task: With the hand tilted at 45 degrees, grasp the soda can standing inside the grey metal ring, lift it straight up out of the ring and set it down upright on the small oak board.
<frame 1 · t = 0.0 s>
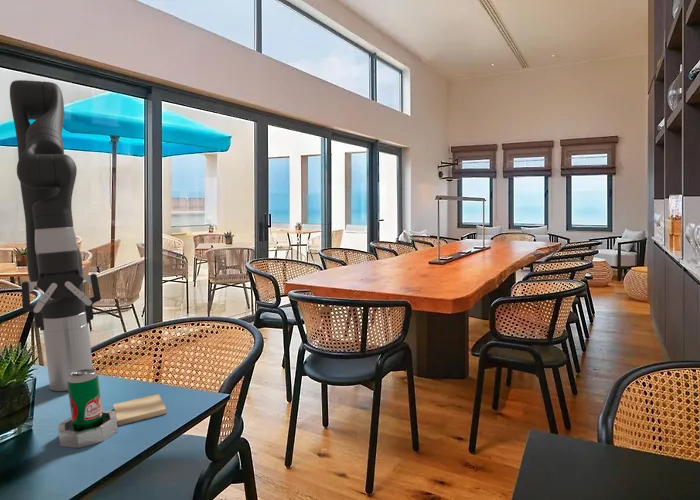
hand: (65, 326, 105), 17 cm above the table, tool pointing down, fingers open, 8 cm apart
board: (139, 411, 102), on the table
ring: (89, 434, 93), on the table
soda can: (89, 435, 93), resting in ring
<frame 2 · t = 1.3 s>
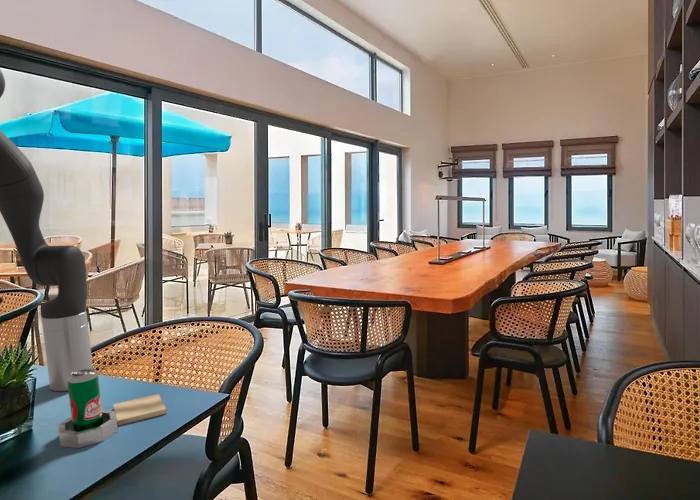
nothing on the table moved.
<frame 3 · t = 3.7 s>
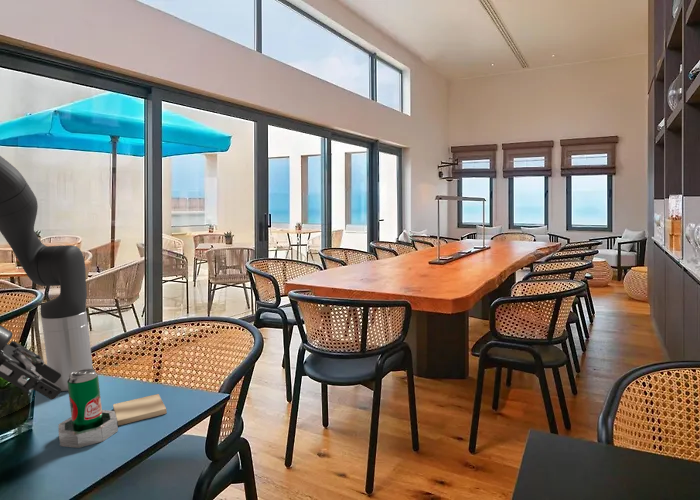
hand: (57, 386, 90), 10 cm above the table, tool tilted 45°, fingers open, 8 cm apart
nothing on the table moved.
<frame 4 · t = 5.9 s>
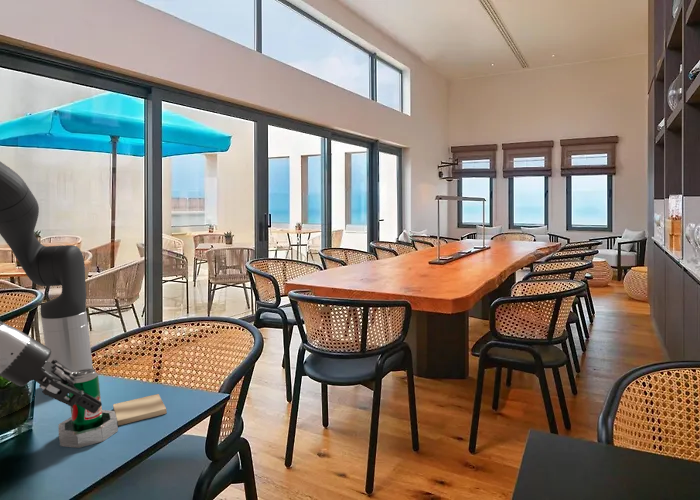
hand: (97, 402, 94), 6 cm above the table, tool tilted 45°, fingers closed on soda can, 5 cm apart
soda can: (89, 435, 93), resting in ring, touching gripper
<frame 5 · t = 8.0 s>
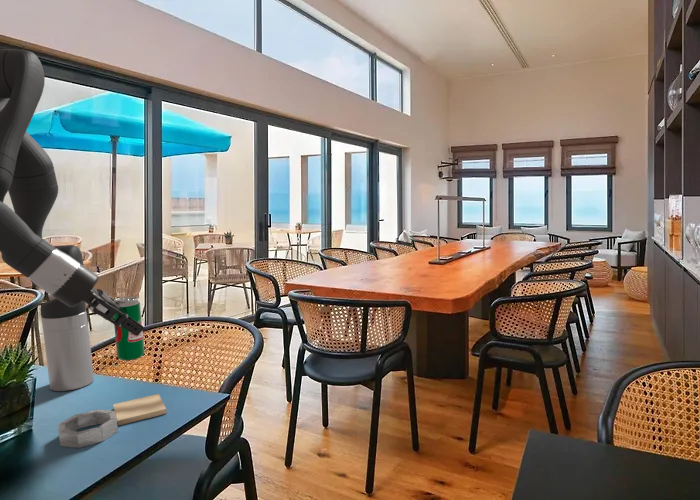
hand: (138, 328, 101), 17 cm above the table, tool tilted 45°, fingers closed on soda can, 5 cm apart
soda can: (131, 358, 101), point 11 cm above the table, touching gripper
when the fingers open (7 cm above the table, at t = 10.4 s): soda can stays where it is, resting on board.
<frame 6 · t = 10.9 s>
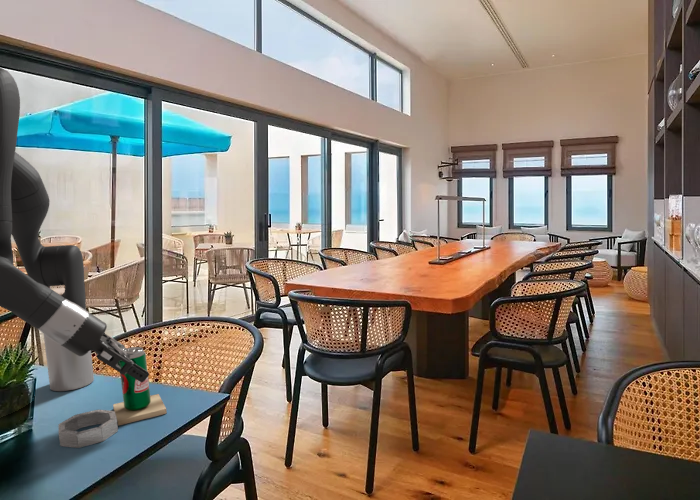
hand: (142, 371, 102), 8 cm above the table, tool tilted 45°, fingers open, 8 cm apart
soda can: (138, 407, 102), point 1 cm above the table, touching board
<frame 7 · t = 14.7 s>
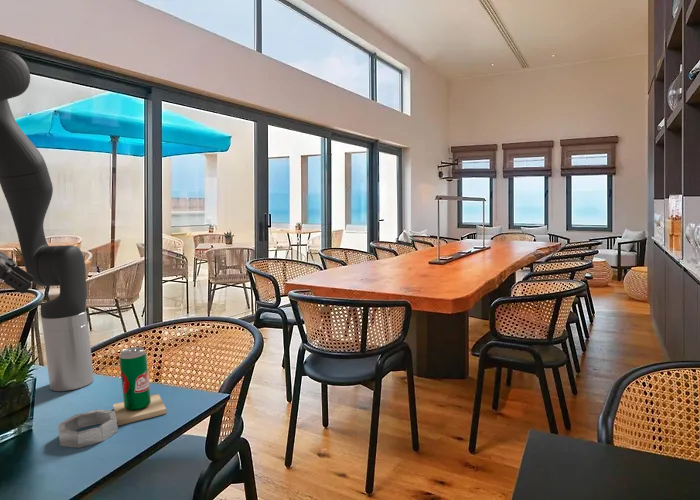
hand: (29, 285, 90), 29 cm above the table, tool tilted 45°, fingers open, 8 cm apart
nothing on the table moved.
at the end: soda can inside the target area on the board (0.2 cm from its centre), point 0.8 cm above the board's base; soda can tilted 0°; the gripper is holding nothing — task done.
